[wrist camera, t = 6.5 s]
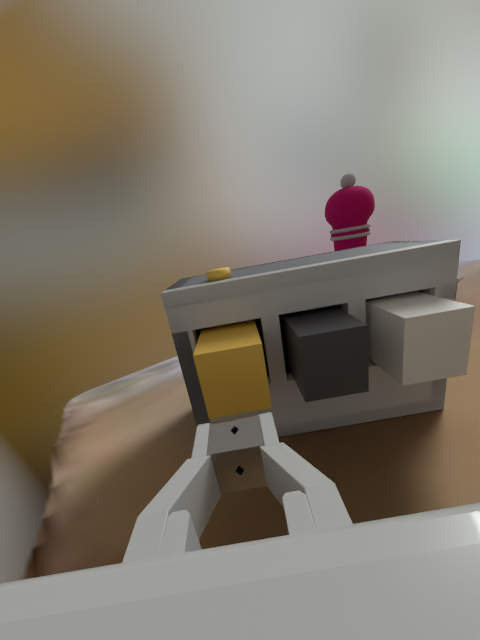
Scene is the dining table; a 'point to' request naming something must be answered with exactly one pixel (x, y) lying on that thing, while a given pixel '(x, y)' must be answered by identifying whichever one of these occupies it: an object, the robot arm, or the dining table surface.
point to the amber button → (232, 370)
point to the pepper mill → (349, 214)
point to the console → (304, 295)
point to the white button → (419, 336)
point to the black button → (327, 353)
